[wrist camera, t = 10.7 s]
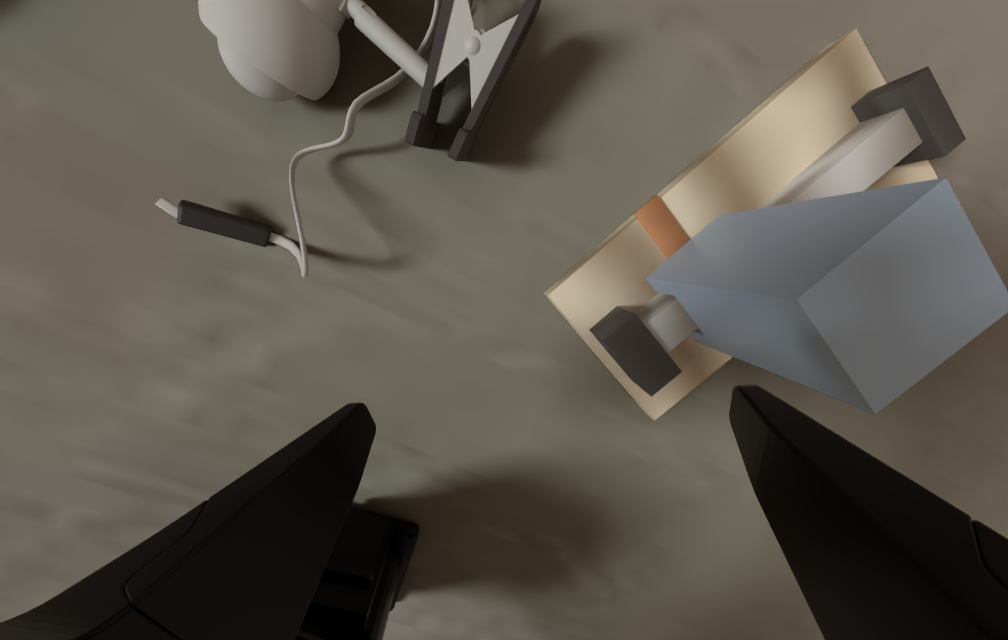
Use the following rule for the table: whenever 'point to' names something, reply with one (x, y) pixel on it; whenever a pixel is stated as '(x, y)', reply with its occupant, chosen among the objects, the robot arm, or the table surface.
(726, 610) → the table surface
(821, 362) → the pale blue rectangular block
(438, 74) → the clip-on lamp
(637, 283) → the rail
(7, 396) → the table surface
